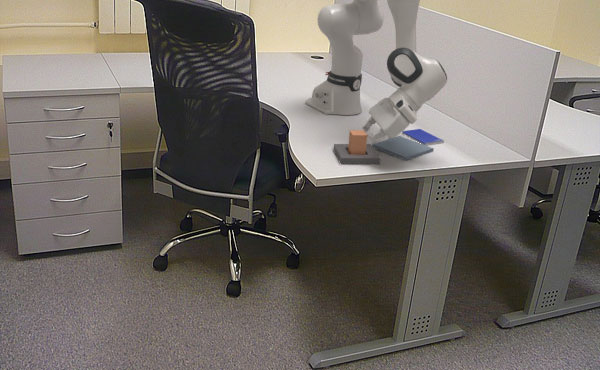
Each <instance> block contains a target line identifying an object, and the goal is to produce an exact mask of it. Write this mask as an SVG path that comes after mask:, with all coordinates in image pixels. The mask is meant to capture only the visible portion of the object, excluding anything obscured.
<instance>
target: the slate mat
mask: <svg viewBox="0 0 600 370" xmlns="http://www.w3.org/2000/svg"><path fill="white" fill-rule="evenodd" d="M371 145H372V147H373V148H374V149H376V150H378V151H382V152H384V153H385V154H386V153H387V154H389V155H391V156H394V157H396V158H400V159H402V160H404V161H409V160H412V159H414V158H418V157H420V156H423V155H426V154H429V153H432V152H434V147H431V146H430V145H428V146H426V145H423V144H420V143H418V142H416V141H414V140H413V139H410V138H408V137H404V136H401V135H399V136H398V135H397V136H396V137H394V138H391V139H390V138H388V139H385V140H381V141H379V142H374V143H371Z"/></svg>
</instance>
